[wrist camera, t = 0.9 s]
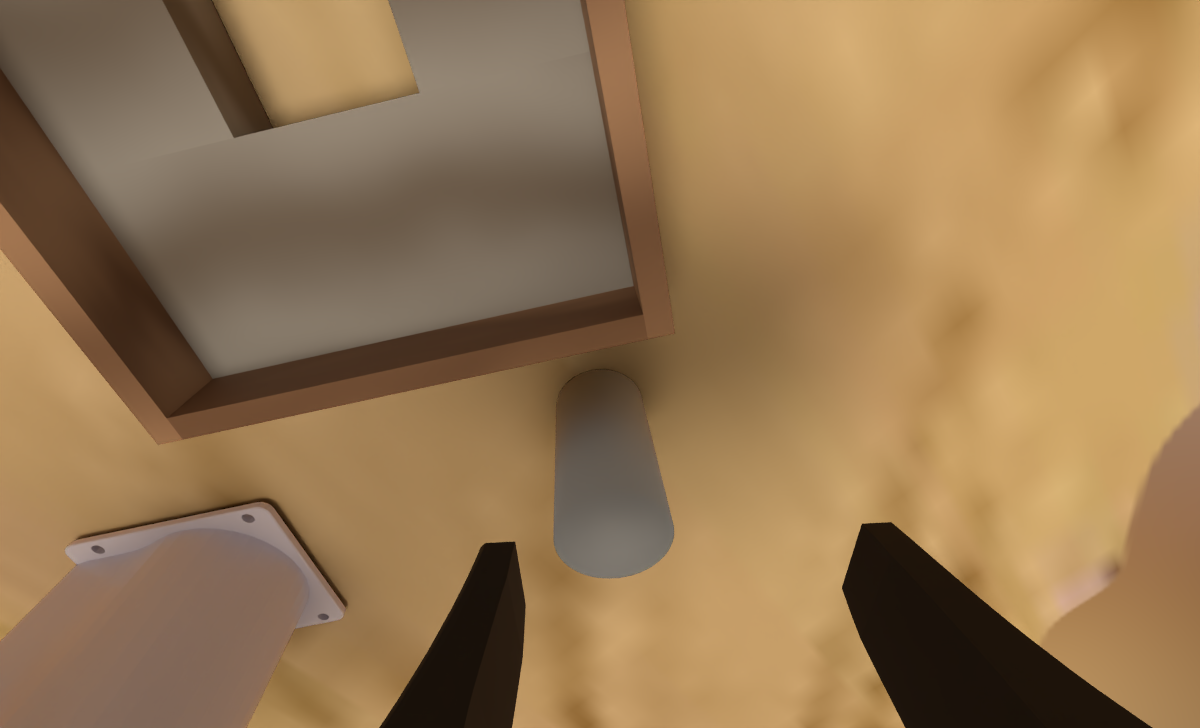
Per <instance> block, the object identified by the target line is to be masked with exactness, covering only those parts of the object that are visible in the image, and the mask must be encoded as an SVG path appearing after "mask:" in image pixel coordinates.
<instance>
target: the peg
mask: <svg viewBox="0 0 1200 728" xmlns="http://www.w3.org/2000/svg"><path fill="white" fill-rule="evenodd" d="M673 538H674V525H673V521H672V517H671V513H670V509H669V505H668V501H667V497H666V493H665V489H664V485H663V481H662V477H661V473H660V469H659V465H658V461H657V457H656V453H655V449H654V445H653V441H652V436H651V432H650V428H649V424H648V420H647V416H646V412H645V408H644V404H643V400H642V396H641V393H640V391H639V389H638V387H637V386H636V385H635V383H634V382H633V381H632V380H630V379H629V378H628V377H626V376H625V375H623V374H621V373H618V372H615V371H611V370H603V369H600V370H591V371H587V372H584V373H581V374H579V375H577V376H575V377H574V378H572V379H571V380H570V381H569V382H568V383H566V385H565V386H564V387H563V388H562V390H561V392H560V394H559V396H558V399H557V405H556V447H555V495H554V546H555V549H556V551H557V554H558V555H559V557H560V558H561V560H562V561H563V562H564V563H565V564H566V565H568V566H569V567H570V568H572V569H574V570H575V571H577V572H580V573H582V574H585V575H588V576H592V577H597V578H621V577H627V576H631V575H634V574H637V573H640V572H642V571H644V570H647V569H648V568H650V567H652V566H653V565H655V564H656V563H657V562H659V561H660V560H661V559H662V558H663V557H664V556H665V554H666V553H667V552H668V550H669V549H670V547H671V544H672V542H673Z"/></svg>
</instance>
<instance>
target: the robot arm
mask: <svg viewBox="0 0 1200 728" xmlns="http://www.w3.org/2000/svg"><path fill="white" fill-rule="evenodd" d="M251 515H252V516H251ZM65 553H66V555H67V556H68V557H69V558H70V559H71V560H72V561H73V562H75V563H76V564H77V565H76V566H75V567H74V568H73V569H72V570H71V571H70V572H69V573H68V574H67V575H66V576H65V577H64V578H63V579H62V580H61V581H60V582H59V583H58V584H57V585H56V586H55V587H54V588H53V589H52V590H51V591H50V592H49V593H48V594H47V595H46V596H45V597H44V598H43V599H42V600H41V601H40V602H39V603H38V604H37V605H36V606H35V607H34V608H33V609H32V610H31V611H30V612H29V613H28V614H27V615H26V616H25V617H24V618H23V619H22V620H21V621H20V622H19V623H18V624H17V625H16V626H15V627H14V628H13V629H12V630H11V631H10V632H9V633H8V634H7V635H6V636H5V637H4V638H3V639H2V640H1V641H0V728H247V726H248V724H249V722H250V720H251V717H252V715H253V713H254V711H255V709H256V707H257V705H258V703H259V701H260V699H261V697H262V695H263V693H264V691H265V689H266V687H267V685H268V683H269V681H270V679H271V676H272V674H273V672H274V670H275V668H276V666H277V664H278V662H279V660H280V658H281V656H282V654H283V652H284V650H285V648H286V646H287V644H288V642H289V640H290V637H291V635H292V633H293V631H294V629H296V628H301V627H306V626H311V625H316V624H321V623H326V622H332V621H337V620H340V619H342V618H343V616H344V614H345V611H346V608H345V606H344V605H343V604H342V602H341V601H340V599H339V598H338V597H337V595H336V594H335V592H334V591H333V590H332V588H331V587H330V585H329V584H328V583H327V581H326V580H325V578H324V577H323V576H322V574H321V573H320V572H319V570H318V569H317V567H316V566H315V565H314V563H313V562H312V560H311V559H310V558H309V556H308V555H307V553H306V552H305V551H304V549H303V548H302V547H301V545H300V544H299V542H298V541H297V540H296V538H295V537H294V535H293V534H292V533H291V531H290V530H289V528H288V527H287V526H286V524H285V523H284V522H283V520H282V519H281V517H280V516H279V515H278V513H277V512H276V510H275V509H274V508H273V507H272V506H271V505H270V504H268V503H265V502H256V503H251V504H246V505H242V506H237V507H232V508H227V509H222V510H218V511H213V512H208V513H203V514H198V515H194V516H189V517H184V518H179V519H174V520H170V521H165V522H160V523H155V524H150V525H145V526H141V527H136V528H131V529H126V530H121V531H117V532H112V533H107V534H102V535H97V536H93V537H88V538H83V539H78V540H75V541H72V542H71V543H70V544H69V545H68V546H67V547H66V548H65ZM842 590H843V592H844V595H845V598H846V601H847V604H848V606H849V609H850V612H851V615H852V618H853V620H854V623H855V625H856V628H857V631H858V633H859V636H860V638H861V640H862V642H863V645H864V647H865V649H866V651H867V653H868V655H869V657H870V659H871V661H872V663H873V665H874V667H875V669H876V671H877V673H878V675H879V677H880V679H881V681H882V683H883V685H884V687H885V689H886V691H887V693H888V694H889V696H890V698H891V700H892V702H893V704H894V706H895V708H896V710H897V712H898V714H899V716H900V718H901V720H902V722H903V724H904V726H905V728H1152V727H1150V726H1149V725H1147V724H1146V723H1145V722H1143V721H1142V720H1140V719H1139V718H1137V717H1136V716H1135V715H1133V714H1132V713H1130V712H1129V711H1127V710H1126V709H1125V708H1123V707H1122V706H1120V705H1119V704H1117V703H1116V702H1114V701H1113V700H1112V699H1110V698H1109V697H1107V696H1106V695H1104V694H1103V693H1102V692H1100V691H1099V690H1097V689H1096V688H1095V687H1093V686H1092V685H1090V684H1089V683H1088V682H1086V681H1085V680H1084V679H1082V678H1081V677H1079V676H1078V675H1077V674H1075V673H1074V672H1073V671H1071V670H1070V669H1069V668H1067V667H1066V666H1065V665H1063V664H1062V663H1061V662H1060V661H1058V660H1057V659H1056V658H1054V657H1053V656H1052V655H1050V654H1049V653H1048V652H1047V651H1045V650H1044V649H1043V648H1041V647H1040V646H1039V645H1037V644H1036V643H1035V642H1033V641H1032V640H1031V639H1030V638H1028V637H1027V636H1026V635H1025V634H1023V633H1022V632H1021V631H1020V630H1018V629H1017V628H1016V627H1015V626H1013V625H1012V624H1011V623H1010V622H1008V621H1007V620H1006V619H1005V618H1003V617H1002V616H1001V615H1000V614H998V613H997V612H996V611H995V610H994V609H992V608H991V607H990V606H989V605H988V604H986V603H985V602H984V601H983V600H982V599H980V598H979V597H978V596H977V595H976V594H974V593H973V592H972V591H971V590H970V589H968V588H967V587H966V586H965V585H964V584H963V583H961V582H960V581H959V580H958V579H957V578H956V577H954V576H953V575H952V574H951V573H950V572H949V571H947V570H946V569H945V568H944V567H943V566H942V565H940V564H939V563H938V562H937V561H936V560H935V559H933V558H932V557H931V556H930V555H929V554H928V553H927V552H925V551H924V550H923V549H922V548H921V547H920V546H918V545H917V544H916V543H915V542H914V541H913V540H911V539H910V538H909V537H908V536H907V535H906V534H904V533H903V532H902V531H901V530H900V529H899V528H897V527H896V526H895V525H894V524H893V523H891V522H888V523H868V524H862V525H861V529H860V532H859V535H858V538H857V541H856V545H855V548H854V551H853V554H852V557H851V560H850V564H849V567H848V570H847V573H846V576H845V580H844V583H843V586H842ZM525 606H526V604H525V598H524V592H523V586H522V580H521V574H520V568H519V562H518V556H517V550H516V544H515V542H499V543H485V544H484V545H483V546H482V547H481V548H480V550H479V553H478V555H477V558H476V560H475V562H474V564H473V566H472V569H471V571H470V573H469V575H468V577H467V579H466V581H465V583H464V585H463V587H462V589H461V591H460V593H459V595H458V597H457V599H456V601H455V603H454V605H453V607H452V609H451V611H450V613H449V614H448V616H447V618H446V620H445V622H444V623H443V625H442V627H441V629H440V631H439V632H438V634H437V636H436V638H435V640H434V641H433V643H432V645H431V647H430V648H429V650H428V652H427V654H426V655H425V657H424V659H423V660H422V662H421V663H420V665H419V667H418V668H417V670H416V671H415V673H414V675H413V676H412V678H411V680H410V681H409V683H408V684H407V686H406V688H405V689H404V691H403V693H402V694H401V696H400V697H399V699H398V700H397V702H396V704H395V705H394V707H393V708H392V710H391V711H390V713H389V714H388V716H387V717H386V719H385V720H384V722H383V723H382V725H381V726H380V727H379V728H512V724H513V717H514V711H515V704H516V698H517V691H518V685H519V678H520V671H521V665H522V658H523V643H524V625H525Z"/></svg>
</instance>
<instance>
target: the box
mask: <svg viewBox="0 0 1200 728" xmlns="http://www.w3.org/2000/svg"><path fill="white" fill-rule="evenodd" d="M388 1H389V4H390V7H391V10H392V13H393V16H394V19H395V22H396V24H397V27H398V30H399V33H400V36H401V39H402V42H403V45H404V48H405V51H406V54H407V57H408V60H409V63H410V66H411V69H412V72H413V75H414V77H415V80H416V83H417V86H418V89H419V92H420V93H417V94H413V95H409V96H405V97H401V98H396V99H392V100H388V101H384V102H380V103H376V104H372V105H368V106H364V107H359V108H355V109H351V110H347V111H343V112H339V113H335V114H331V115H326V116H322V117H318V118H314V119H310V120H306V121H302V122H298V123H294V124H289V125H285V126H281V127H277V128H272V126H271V124H270V122H269V119H268V117H267V115H266V113H265V111H264V109H263V107H262V105H261V103H260V101H259V99H258V97H257V94H256V92H255V90H254V88H253V86H252V84H251V82H250V80H249V78H248V76H247V74H246V72H245V69H244V67H243V65H242V63H241V61H240V59H239V57H238V55H237V53H236V51H235V49H234V46H233V44H232V42H231V40H230V38H229V36H228V34H227V32H226V30H225V28H224V26H223V24H222V21H221V19H220V17H219V15H218V13H217V11H216V9H215V7H214V5H213V3H212V1H211V0H0V249H1V250H2V252H3V253H4V254H5V255H6V257H7V258H8V259H9V260H10V262H11V263H12V264H13V265H14V267H15V268H16V269H17V270H18V272H19V273H20V274H21V275H22V276H23V278H24V279H25V280H26V281H27V283H28V284H29V285H30V286H31V288H32V289H33V290H34V291H35V293H36V294H37V295H38V296H39V298H40V299H41V300H42V301H43V303H44V304H45V305H46V306H47V308H48V309H49V310H50V311H51V312H52V314H53V315H54V316H55V317H56V319H57V320H58V321H59V322H60V324H61V325H62V326H63V327H64V329H65V330H66V331H67V332H68V334H69V335H70V336H71V337H72V339H73V340H74V341H75V342H76V344H77V345H78V346H79V347H80V348H81V350H82V351H83V352H84V353H85V355H86V356H87V357H88V358H89V360H90V361H91V362H92V363H93V365H94V366H95V367H96V368H97V370H98V371H99V372H100V373H101V375H102V376H103V377H104V378H105V380H106V381H107V382H108V383H109V384H110V386H111V387H112V388H113V389H114V391H115V392H116V393H117V394H118V396H119V397H120V398H121V399H122V401H123V402H124V403H125V404H126V406H127V407H128V408H129V409H130V411H131V412H132V413H133V414H134V416H135V417H136V418H137V419H138V420H139V422H140V423H141V424H142V425H143V427H144V428H145V429H146V430H147V432H148V433H149V434H150V435H151V437H152V438H153V439H154V440H155V442H156V443H157V444H158V445H160V444H164V443H169V442H173V441H178V440H183V439H187V438H192V437H197V436H201V435H206V434H211V433H215V432H220V431H224V430H229V429H234V428H238V427H243V426H248V425H252V424H257V423H262V422H266V421H271V420H275V419H280V418H285V417H289V416H294V415H299V414H303V413H308V412H313V411H317V410H322V409H326V408H331V407H336V406H340V405H345V404H350V403H354V402H359V401H364V400H368V399H373V398H378V397H382V396H387V395H391V394H396V393H401V392H405V391H410V390H415V389H419V388H424V387H429V386H433V385H438V384H442V383H447V382H452V381H456V380H461V379H466V378H470V377H475V376H480V375H484V374H489V373H493V372H498V371H503V370H507V369H512V368H517V367H521V366H526V365H531V364H535V363H540V362H544V361H549V360H554V359H558V358H563V357H568V356H572V355H577V354H582V353H586V352H591V351H595V350H600V349H605V348H609V347H614V346H619V345H623V344H628V343H633V342H637V341H642V340H647V339H651V338H656V337H660V336H665V335H670V334H674V333H675V330H674V324H673V317H672V310H671V304H670V297H669V291H668V284H667V278H666V271H665V265H664V258H663V251H662V245H661V238H660V232H659V225H658V219H657V212H656V206H655V199H654V192H653V186H652V179H651V173H650V166H649V160H648V153H647V147H646V140H645V133H644V127H643V120H642V114H641V107H640V101H639V94H638V88H637V81H636V74H635V68H634V61H633V55H632V48H631V42H630V35H629V29H628V22H627V16H626V9H625V2H624V0H388Z"/></svg>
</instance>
